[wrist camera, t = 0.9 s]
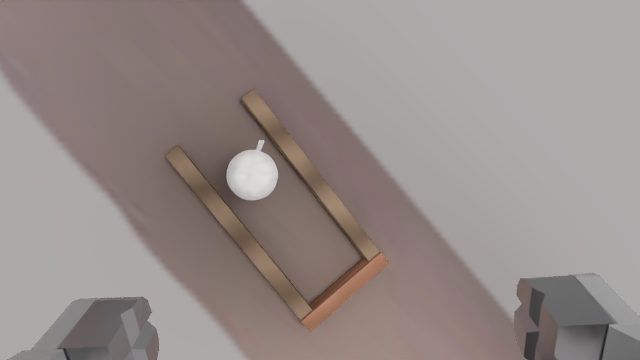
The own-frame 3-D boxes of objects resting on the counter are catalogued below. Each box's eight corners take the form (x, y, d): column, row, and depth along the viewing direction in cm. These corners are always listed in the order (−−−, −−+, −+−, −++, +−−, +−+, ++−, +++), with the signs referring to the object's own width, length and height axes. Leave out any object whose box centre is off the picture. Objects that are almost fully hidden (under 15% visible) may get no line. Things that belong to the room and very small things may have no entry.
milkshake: (275, 152, 48) (288, 146, 39) (263, 200, 48) (273, 206, 38) (234, 142, 48) (236, 133, 38) (221, 191, 47) (220, 194, 38)
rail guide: (167, 156, 46) (163, 155, 44) (252, 92, 48) (254, 87, 45) (306, 324, 49) (310, 332, 47) (381, 258, 51) (389, 262, 49)
